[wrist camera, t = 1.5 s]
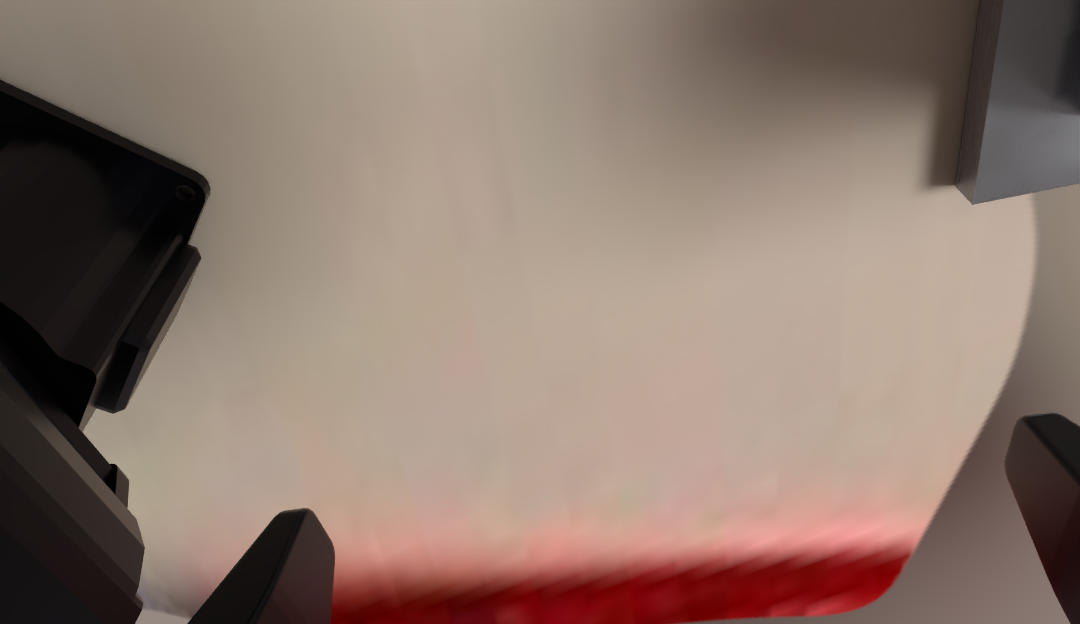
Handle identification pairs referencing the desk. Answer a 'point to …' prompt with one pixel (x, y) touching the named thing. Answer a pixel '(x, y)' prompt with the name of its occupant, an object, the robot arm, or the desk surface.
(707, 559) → the desk surface
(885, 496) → the desk surface
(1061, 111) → the rack deck
